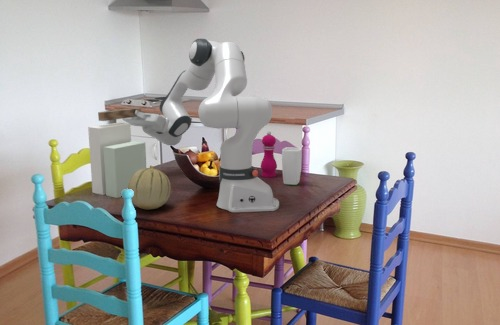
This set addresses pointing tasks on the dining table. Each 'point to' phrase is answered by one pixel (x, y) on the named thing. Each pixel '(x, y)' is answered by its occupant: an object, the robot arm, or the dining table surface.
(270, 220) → the dining table surface
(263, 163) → the pepper mill
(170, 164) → the dining table surface
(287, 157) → the cup
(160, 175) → the cantaloupe
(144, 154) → the pale green block
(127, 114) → the walnut bar
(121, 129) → the tall stand
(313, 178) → the dining table surface
